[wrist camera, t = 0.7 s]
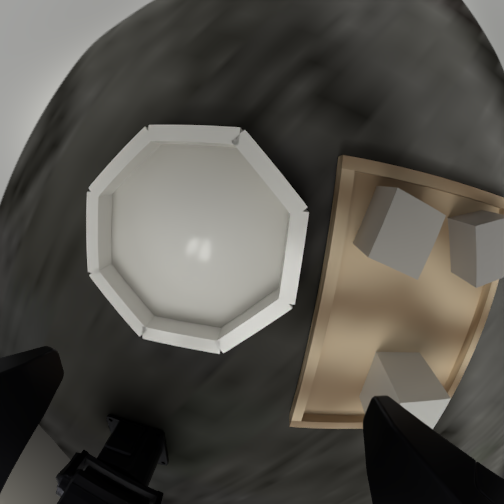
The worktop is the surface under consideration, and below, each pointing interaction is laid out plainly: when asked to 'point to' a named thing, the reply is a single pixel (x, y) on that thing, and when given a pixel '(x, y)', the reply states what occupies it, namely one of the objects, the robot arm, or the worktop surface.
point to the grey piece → (477, 246)
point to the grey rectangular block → (406, 385)
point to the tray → (386, 298)
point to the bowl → (195, 236)
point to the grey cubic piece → (399, 230)
